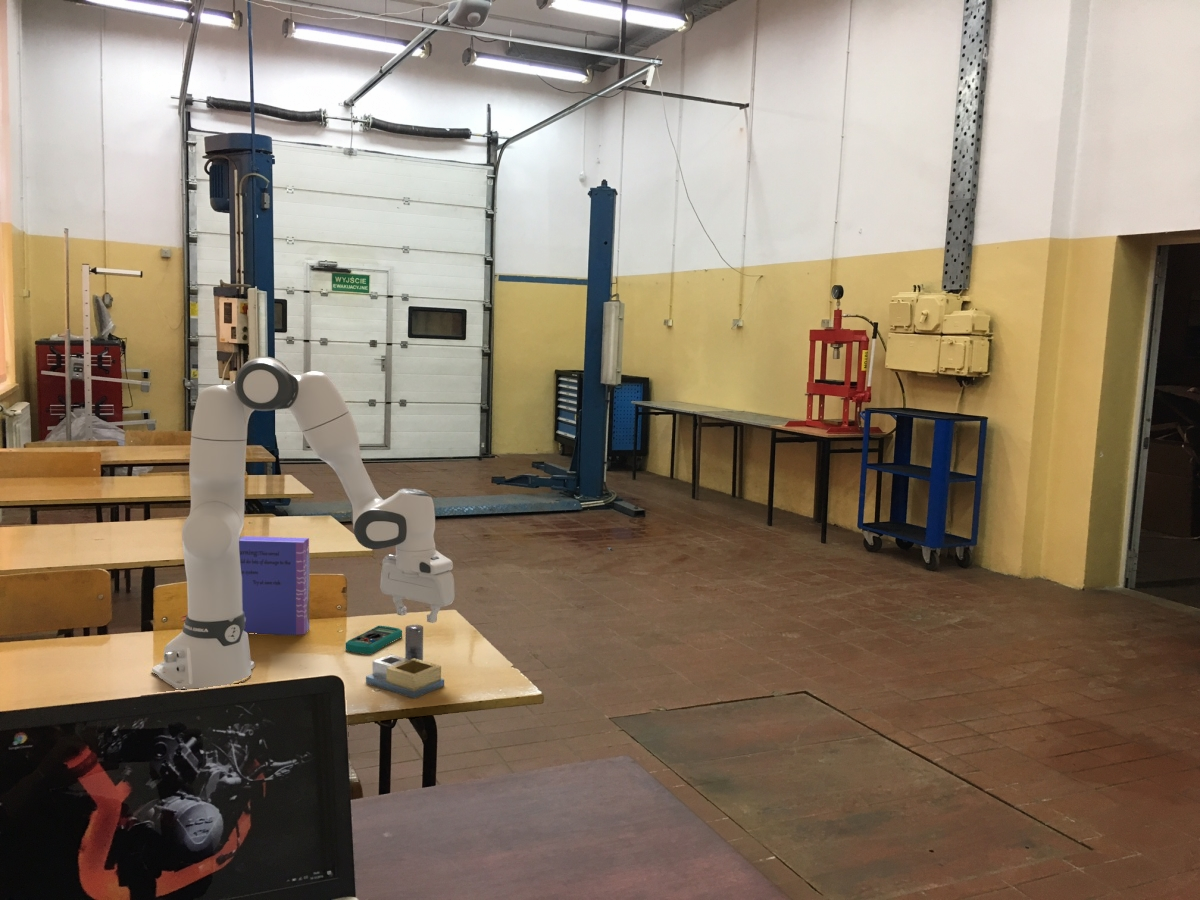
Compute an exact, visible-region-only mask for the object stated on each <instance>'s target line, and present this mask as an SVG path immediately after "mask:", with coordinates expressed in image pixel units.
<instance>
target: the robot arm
mask: <svg viewBox="0 0 1200 900" xmlns="http://www.w3.org/2000/svg"><path fill="white" fill-rule="evenodd" d="M285 409H287V410H289V411H290V412H291V413H292V415H293V416H294V419H295V420H296V423H297V424H298V426H299V429H300V430H301V432H302V435H303V436H304V439H305V440H306V443H307V444H308V446H309V447H310V449H312V451H313V452H314V454H315V455H316V456H317V458H318V459H320V460H321V461H323V462H325V463H326V464H327V465H329V466H330V468H332V469H333V471H334V472H335V473H336V475H337V477H338V479H339V481H340V483H341V485H342V487H343V489H344V492H345V494H346V496H347V497H348V499H349V502H350V506H351V524H352V526H353V533H354V537H355V539H356V540H357V542H358V543H359V544H360V545H361V546H362V547H364V548H366V549H370V550H381V549H387V548H390V547H394V546H395V555H393V554H387V555H385V557H384V558H383V559H382V567H381V571H380V583H379V588H380V591H381V594H384V595H388V596H392V601H393V604H394V605H395V608H396V615H397V616H406V615H407V612H408V611H407V609H408V608H407V606H405V604H404V601H403V599H405V600H406V599H407V600H410V601H414V602H418V603H419V602H420V603H424V604H428V605H429V609H431V611H430V613H428V614H426V622H427V623H430V624H434V623H436V622H437V620H438V614H439V612H440V610H441V607H446V606H450V605H451V604H452V603H453V602H454V600H455V579H454V575H453V573H452V572H451V570H453V568H454V562H453V561H452V560H451V559H450V558H448V557H446V556H445V555H444V554H442V553H440V552H439V551H438V550H437V549H436V543H435V539H434V538H435V537H434V535H435V534H434V533H435V530H436V512H435V504H434V501H433V498H432V497H431V495H430V494H429V493H428V492H426V491H425V490H422V489H416V488H399V490H398V491H396V492H395V493H393V495H391V496H389V497H388V498H384V496H383V495H381V494H379V492H378V491H377V490H376V489H377V488H376V487H375V485H374V483H373V481H372V479H371V477H370V475H369V474H368V471H367V469H366V466H365V465H364V463H363V460H362V457H361V451H360V438H359V433H358V430H357V427H356V424H355V420H354V417H353V415H352V413H351V411H350V409H349V407H348V405H347V403H346V401H345V399H344V397H343V396H342V394H341V392H340V391H339V389H338V388H337V386H336V385H335V383H334V382H333V381H332V379H331V378H330V377H329V375H327V374H326V373H325V372H323V371H314V370H313V371H308V372H304V373H301V374H293V373H291V372H290V370H289V369H288V367H287V366H286V365H285V364H284V363H283V362H282V361H281V360H279V359H277V358H276V357H275V358H274V357H271V356H257V357H253V358H251V359H249V360H247V361H246V362H245V363H243V365H242V366H241V367H240V368H239V370H238V372H237V373H236V376H235V379H234V380H233V382H231V383H230V384H215V385H211V386H207V387H205V388H204V389H202V390H201V391H200V392H199V394H198V396H197V400H196V403H195V407H194V412H193V416H192V423H191V431H190V432H191V437H190V447H189V448H190V451H189V468H188V469H189V471H188V474H189V484H190V485H189V486H190V488H189V489H190V509H189V510H190V511H189V514H188V516H187V518H186V519H185V520H184V522H183V524H182V528H181V529H182V530H181V541H182V552H183V560H184V568H185V569H184V570H185V575H186V585H187V586H186V589H187V590H186V592H187V593H186V594H187V614H186V615H183V616H181V617H180V618H182V619H181V620H180V622H184V624H183V627H182V631H181V632H180V633H179V634H177V636H175V637H174V638H173V639H172V640H170V641H169V642H168V643H167V644H166V645H165V646H164V651H163V661H162V662H160V663H158V664H156V665H154V666H153V667H152V668H151V672H152V671H153V672H154V673H155V674H157V675H158V676H159V677H158V676H157V675H156V676H157V677H158V678H160V679H161V680H162V679H163V680H162V681H164V682H165V683H166V684H168V685H170V686H171V685H172V686H171V687H173V688H174V689H176V688H178V689H177V690H179V691H181V689H185V690H191V689H193V690H194V689H205V688H204V687H213V686H221V685H227V684H232V683H233V682H234V681H239V680H242V679H243V678H246V677H249V676H250V675H251V676H252V670H253V669H254V668H255V661H253V660H252V659H251V658H252V657H251V651H250V641H249V634H247V632H245V631H244V629H245V613H244V611H243V603H242V574H241V565H240V553H239V537H240V536H241V534H242V533H241V532H242V531H243V529H244V524H245V502H246V501H245V500H246V499H245V496H246V495H245V494H246V493H245V491H246V489H245V487H246V486H245V485H246V483H245V481H246V480H245V478H246V477H245V475H246V459H247V458H246V457H247V441H248V440H247V439H248V426H249V425H248V424H249V419H250V417H251V414H252V413H253V412H254V411H258V412H260V411H261V412H269V411H276V410H277V411H278V410H285ZM251 669H252V670H251ZM154 673H153V674H154ZM155 674H154V675H155ZM251 676H250V677H251ZM250 677H249V678H250ZM183 687H185V688H183Z"/></svg>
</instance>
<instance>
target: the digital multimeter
mask: <svg viewBox="0 0 1200 900" xmlns="http://www.w3.org/2000/svg"><path fill="white" fill-rule="evenodd" d="M400 637H403V630H402V629H401V628H398V627H392V626H387V625H376V626H375V627H373V628H371V629H369V630H367V631H365V632H364V633H361V634H359V635H358V636H355V637H353V638H350V639H349V640H348V641H346V642H345V651H347V652H350V651H351V653H356V654H361V653H364V654H365V655H372V654H374V653H376V652H377V651H379V650H381V649H382V647H383V646H384V647H386V646H387V645H386V644H388V643H390V642H392V641H394V640H396V639H398V638H400ZM400 639H401V638H400ZM398 640H399V639H398ZM396 641H397V640H396ZM394 642H395V641H394ZM392 643H393V642H392ZM390 644H391V643H390ZM385 645H386V646H385ZM388 645H389V644H388ZM384 647H383V648H384ZM380 648H381V649H380ZM378 649H379V650H378ZM375 651H376V652H375ZM364 654H363V655H364Z"/></svg>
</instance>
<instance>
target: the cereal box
mask: <svg viewBox="0 0 1200 900" xmlns="http://www.w3.org/2000/svg"><path fill="white" fill-rule="evenodd" d="M239 553H240V565H241V574H242V603H243V611H244V613H245V629H244V631H245V632H247V633H254V634H253V635H257V634H273V635H272V636H296V635H304V636H305V635H306V634H307V633H308V632H309V631H310V630H309V629H310V626H311V625H310V538H309V537H308V538H307V537H283V536H282V537H275V536H245V535H244V536H241V535H240V537H239ZM308 630H309V631H308ZM307 631H308V632H307ZM255 633H257V634H255Z"/></svg>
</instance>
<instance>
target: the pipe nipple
mask: <svg viewBox="0 0 1200 900" xmlns="http://www.w3.org/2000/svg"><path fill="white" fill-rule="evenodd" d="M404 632H405V641H404V643H405V646H404V647H405V649H404V650H405V651H404V656H405V657H404V658H405V659H409V660H410V659H412V658H415V659H419V660H422V661H424V626H423V625H421V624H410V625H406V626H405V631H404Z"/></svg>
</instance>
